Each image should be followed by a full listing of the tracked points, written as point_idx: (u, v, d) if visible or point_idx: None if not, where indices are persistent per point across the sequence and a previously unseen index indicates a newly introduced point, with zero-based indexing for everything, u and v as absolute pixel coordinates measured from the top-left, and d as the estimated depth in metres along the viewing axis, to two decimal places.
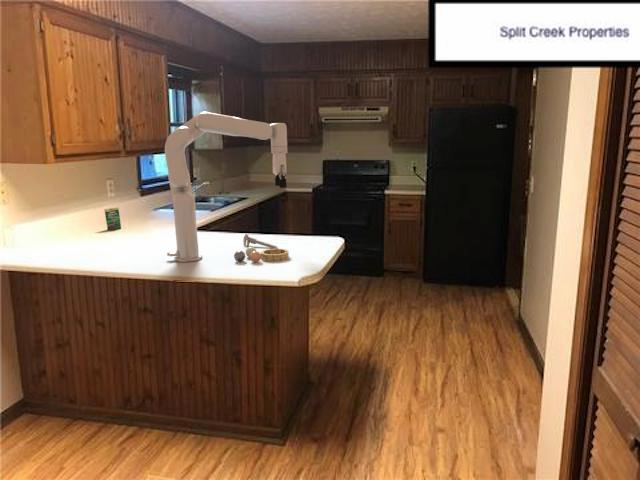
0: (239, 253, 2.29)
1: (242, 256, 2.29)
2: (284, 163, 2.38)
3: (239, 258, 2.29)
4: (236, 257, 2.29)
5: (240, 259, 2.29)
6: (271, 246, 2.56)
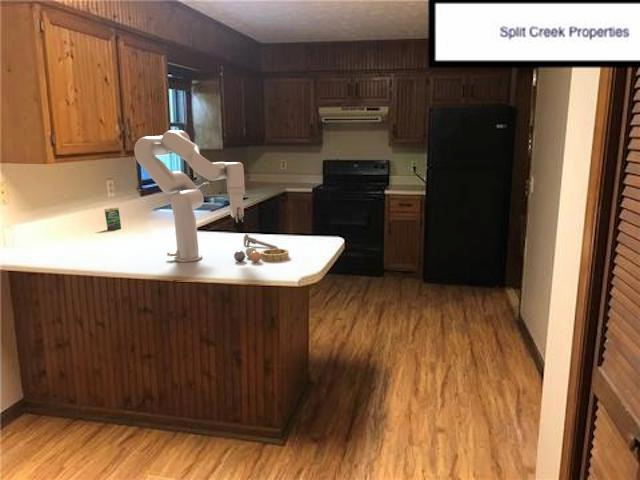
0: (239, 253, 2.29)
1: (242, 256, 2.29)
2: (241, 205, 2.22)
3: (239, 258, 2.29)
4: (236, 257, 2.29)
5: (240, 259, 2.29)
6: (271, 246, 2.56)
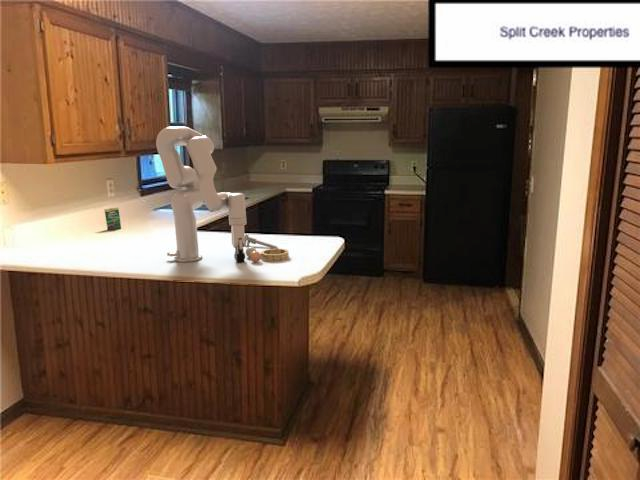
0: None
1: None
2: (242, 236, 2.25)
3: None
4: (236, 257, 2.29)
5: None
6: (271, 246, 2.56)
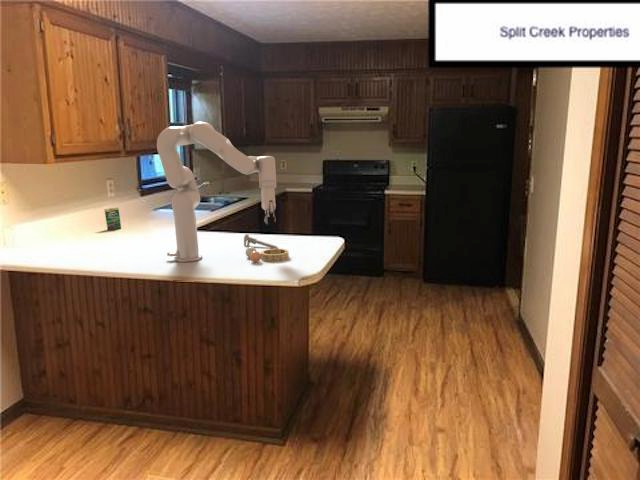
0: None
1: None
2: (273, 198, 2.26)
3: None
4: (266, 220, 2.30)
5: None
6: (271, 246, 2.56)
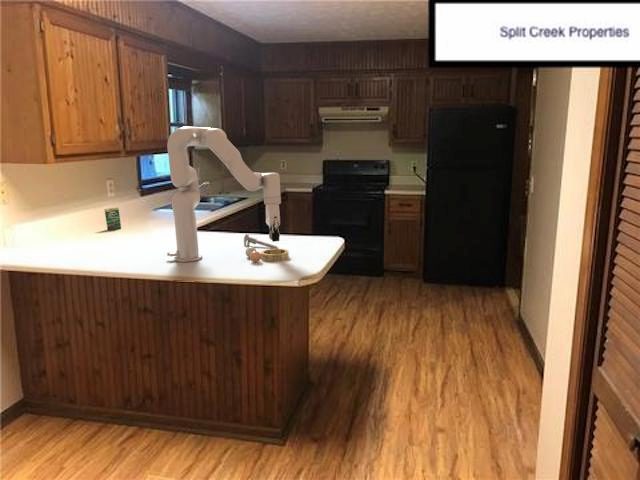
0: None
1: None
2: (277, 214, 2.28)
3: None
4: (271, 235, 2.32)
5: None
6: (271, 246, 2.56)
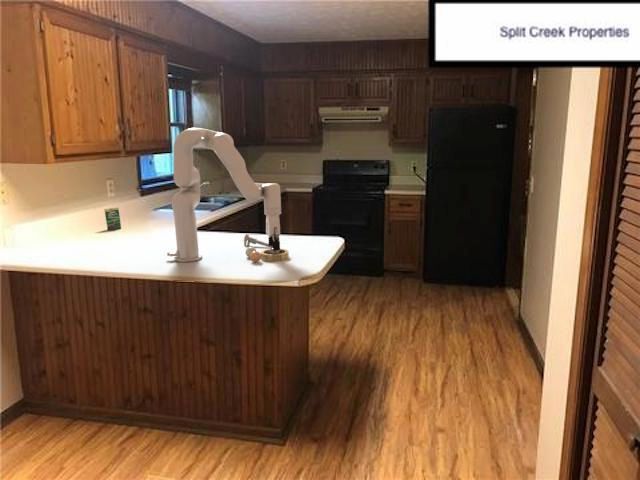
0: None
1: (277, 252, 2.34)
2: (278, 225, 2.29)
3: None
4: (271, 253, 2.34)
5: None
6: (271, 246, 2.56)
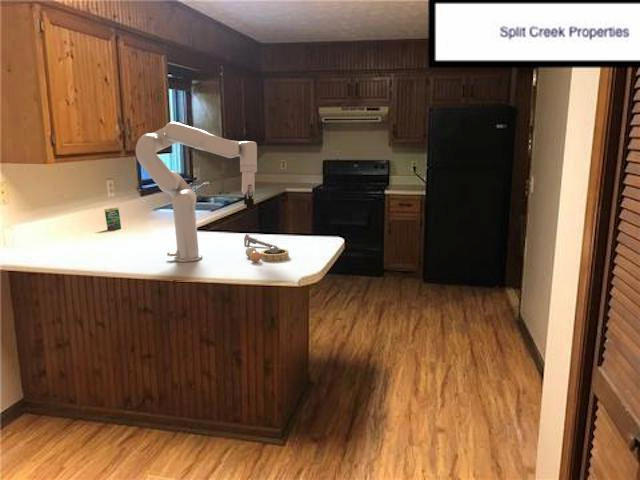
0: (273, 247, 2.36)
1: (276, 249, 2.35)
2: (252, 183, 2.31)
3: (273, 251, 2.35)
4: (270, 251, 2.35)
5: (274, 252, 2.35)
6: (272, 246, 2.56)
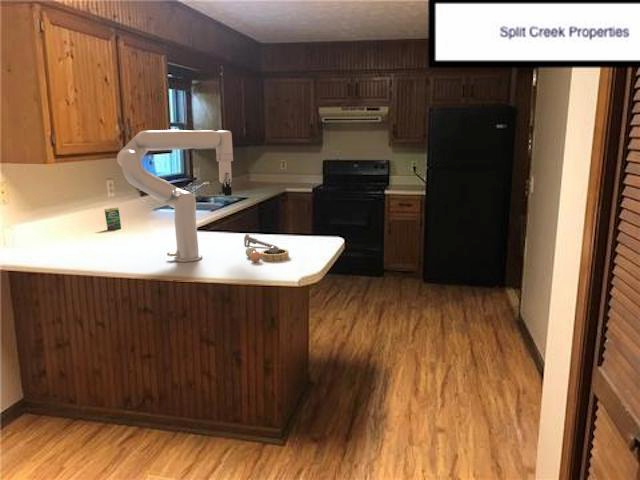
0: (272, 246, 2.38)
1: (276, 247, 2.37)
2: (229, 171, 2.36)
3: (273, 249, 2.36)
4: (270, 249, 2.36)
5: (274, 250, 2.36)
6: None
